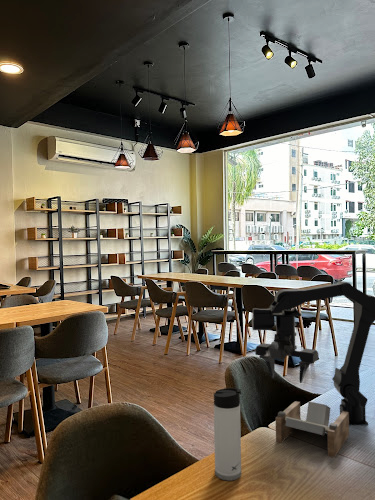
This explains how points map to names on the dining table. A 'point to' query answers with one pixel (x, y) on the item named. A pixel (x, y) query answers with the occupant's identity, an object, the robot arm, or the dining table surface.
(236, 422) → the travel mug
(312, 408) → the light gray block
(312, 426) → the trapdoor
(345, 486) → the dining table surface
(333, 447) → the trapdoor frame
